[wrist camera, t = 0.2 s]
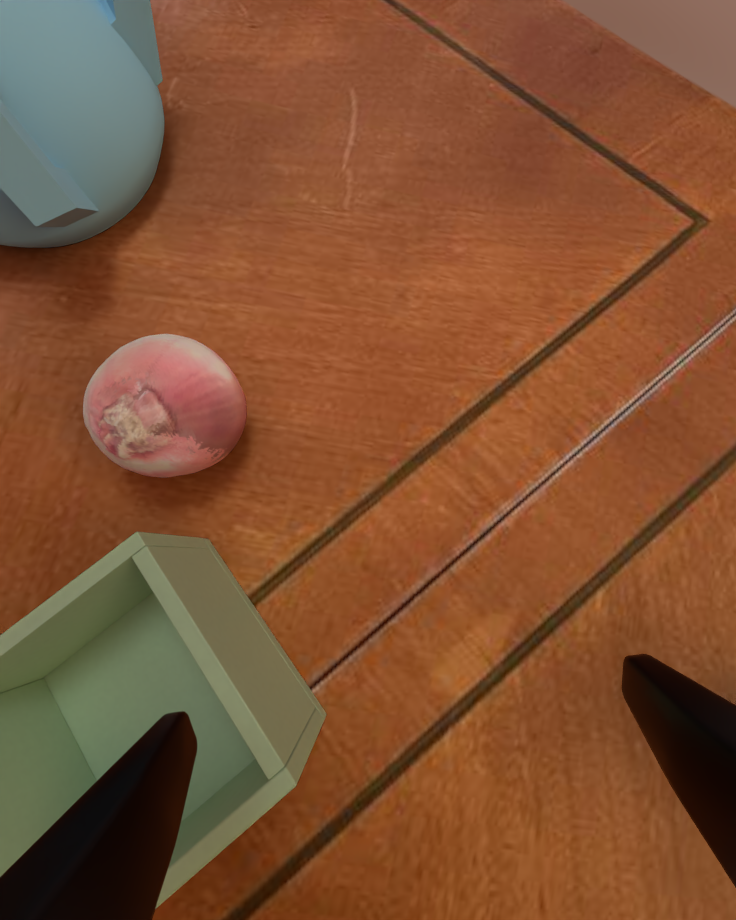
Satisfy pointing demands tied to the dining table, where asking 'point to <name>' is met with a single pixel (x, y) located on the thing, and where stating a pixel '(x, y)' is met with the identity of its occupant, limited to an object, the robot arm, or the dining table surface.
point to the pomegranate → (164, 407)
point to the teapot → (75, 117)
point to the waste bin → (150, 696)
